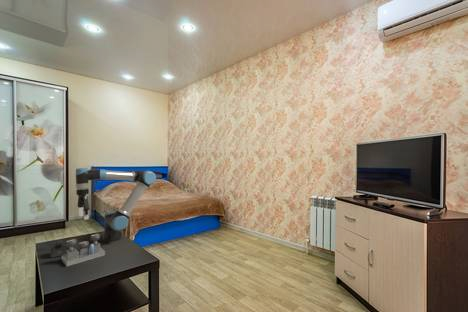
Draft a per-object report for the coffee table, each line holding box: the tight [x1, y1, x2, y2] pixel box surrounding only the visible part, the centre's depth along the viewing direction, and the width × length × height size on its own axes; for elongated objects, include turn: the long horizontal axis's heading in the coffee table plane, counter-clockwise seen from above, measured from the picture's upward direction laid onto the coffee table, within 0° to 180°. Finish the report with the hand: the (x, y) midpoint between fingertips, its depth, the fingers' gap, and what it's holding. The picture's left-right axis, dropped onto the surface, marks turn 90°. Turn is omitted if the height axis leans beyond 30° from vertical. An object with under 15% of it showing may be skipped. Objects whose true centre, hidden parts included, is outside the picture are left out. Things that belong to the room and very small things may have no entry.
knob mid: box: [78, 240, 90, 249], centre depth 152 cm, size 6×6×7 cm
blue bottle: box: [89, 243, 94, 254], centre depth 151 cm, size 2×2×6 cm
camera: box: [50, 240, 70, 258], centre depth 157 cm, size 13×10×10 cm
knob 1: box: [65, 238, 78, 251], centre depth 147 cm, size 6×6×7 cm
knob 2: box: [90, 233, 101, 245], centre depth 157 cm, size 6×6×7 cm
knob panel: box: [61, 242, 106, 267], centre depth 152 cm, size 22×14×7 cm, turn 138°
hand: (83, 217), depth 163 cm, fingers open, 13 cm apart
